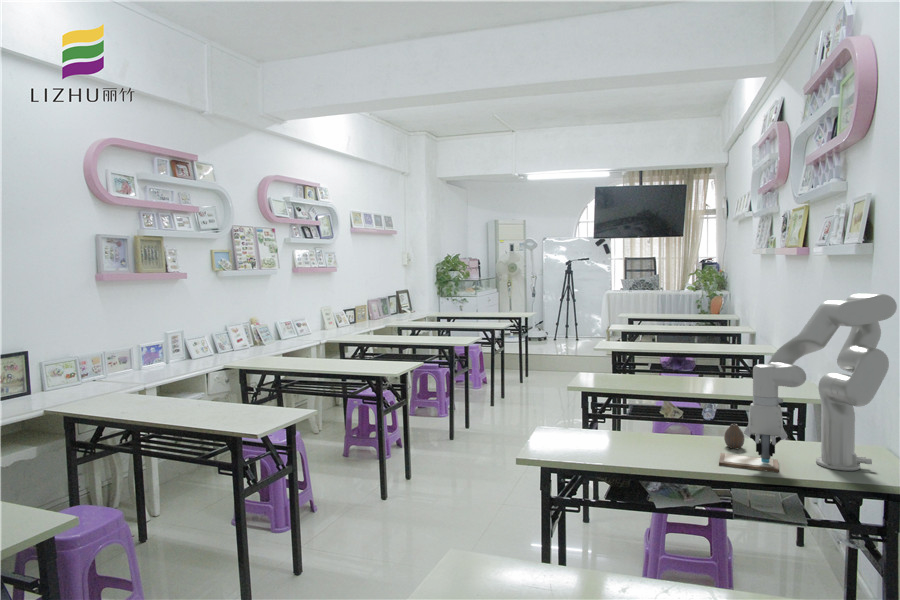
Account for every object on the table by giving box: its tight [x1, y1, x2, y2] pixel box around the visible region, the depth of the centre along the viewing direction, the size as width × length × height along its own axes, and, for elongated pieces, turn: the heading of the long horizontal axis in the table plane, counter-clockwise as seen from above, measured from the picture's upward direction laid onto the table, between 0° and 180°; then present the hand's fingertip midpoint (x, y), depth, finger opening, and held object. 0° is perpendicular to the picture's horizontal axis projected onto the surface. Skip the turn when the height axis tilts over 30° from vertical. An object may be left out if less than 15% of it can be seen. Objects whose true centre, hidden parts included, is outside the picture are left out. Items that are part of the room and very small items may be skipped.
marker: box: [759, 435, 771, 463], centre depth 196 cm, size 3×3×12 cm
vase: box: [723, 423, 745, 449], centre depth 221 cm, size 7×7×9 cm
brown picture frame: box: [718, 452, 780, 473], centre depth 201 cm, size 18×12×1 cm, turn 62°
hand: (765, 454), depth 197 cm, fingers closed on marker, 3 cm apart
